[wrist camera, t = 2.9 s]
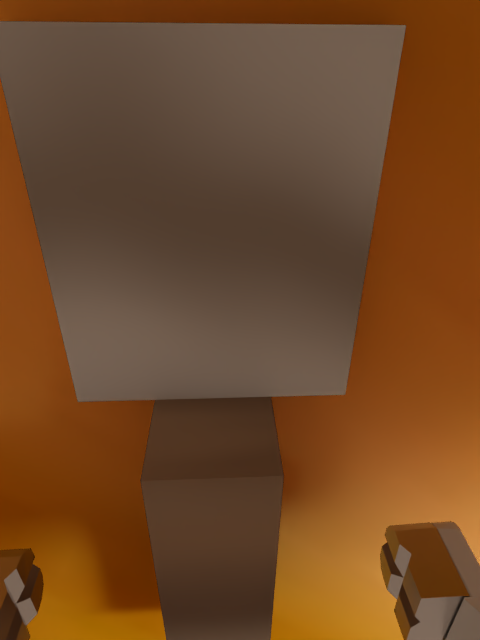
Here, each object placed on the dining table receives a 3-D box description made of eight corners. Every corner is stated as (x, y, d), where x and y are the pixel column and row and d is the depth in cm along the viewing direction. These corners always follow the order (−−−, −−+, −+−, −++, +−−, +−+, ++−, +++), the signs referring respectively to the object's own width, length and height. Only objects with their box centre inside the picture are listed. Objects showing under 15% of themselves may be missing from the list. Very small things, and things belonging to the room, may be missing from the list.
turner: (304, 595, 16) (321, 699, 13) (135, 603, 16) (119, 711, 13) (388, 28, 7) (484, 10, 5) (9, 24, 7) (-114, 4, 4)
